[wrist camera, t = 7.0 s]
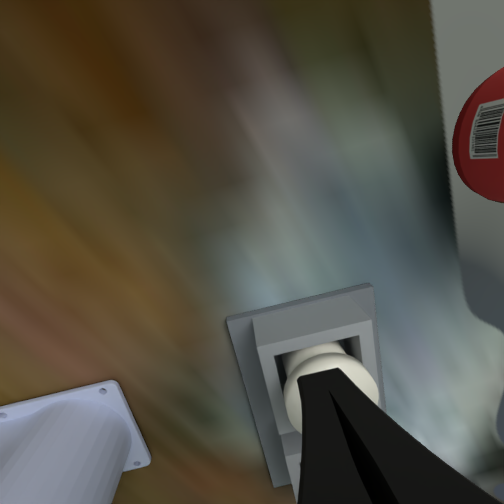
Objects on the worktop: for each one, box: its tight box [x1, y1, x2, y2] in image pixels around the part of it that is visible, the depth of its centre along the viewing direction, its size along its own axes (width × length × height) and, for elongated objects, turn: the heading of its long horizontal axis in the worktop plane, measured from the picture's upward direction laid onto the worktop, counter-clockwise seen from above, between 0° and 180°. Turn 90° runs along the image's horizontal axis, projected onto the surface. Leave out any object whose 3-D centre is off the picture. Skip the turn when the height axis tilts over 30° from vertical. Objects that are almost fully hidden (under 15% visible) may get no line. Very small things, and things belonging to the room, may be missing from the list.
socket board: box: [227, 283, 386, 502], centre depth 20 cm, size 10×16×4 cm, turn 13°
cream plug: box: [282, 340, 379, 434], centre depth 18 cm, size 5×5×4 cm
